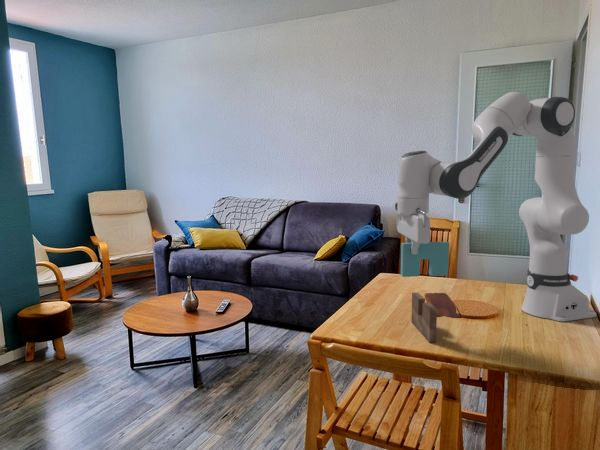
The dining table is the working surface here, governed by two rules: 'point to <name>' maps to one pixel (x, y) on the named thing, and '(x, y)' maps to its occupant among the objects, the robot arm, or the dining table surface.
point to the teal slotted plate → (431, 251)
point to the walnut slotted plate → (424, 317)
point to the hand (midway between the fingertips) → (412, 252)
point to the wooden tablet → (442, 304)
